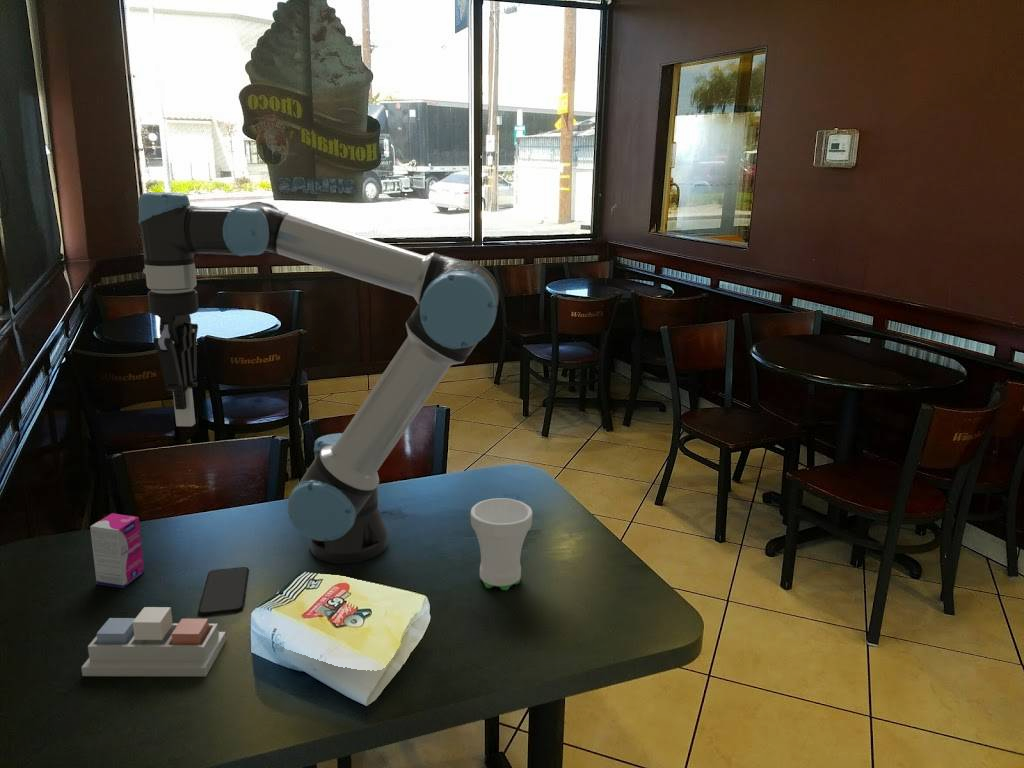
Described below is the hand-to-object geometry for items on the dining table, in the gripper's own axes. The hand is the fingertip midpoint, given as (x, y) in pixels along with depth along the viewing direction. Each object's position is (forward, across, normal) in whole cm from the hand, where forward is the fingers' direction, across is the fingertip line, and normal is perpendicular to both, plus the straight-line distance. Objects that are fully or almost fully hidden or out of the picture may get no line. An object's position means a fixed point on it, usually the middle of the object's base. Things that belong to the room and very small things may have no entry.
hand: (185, 424), depth 131 cm
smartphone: (+30, +5, +6) cm, 31 cm away
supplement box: (+30, +1, -14) cm, 33 cm away
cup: (+30, +1, +55) cm, 62 cm away
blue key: (+27, +24, -3) cm, 36 cm away
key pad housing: (+29, +24, +2) cm, 38 cm away
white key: (+25, +24, +2) cm, 35 cm away
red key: (+27, +24, +7) cm, 37 cm away
